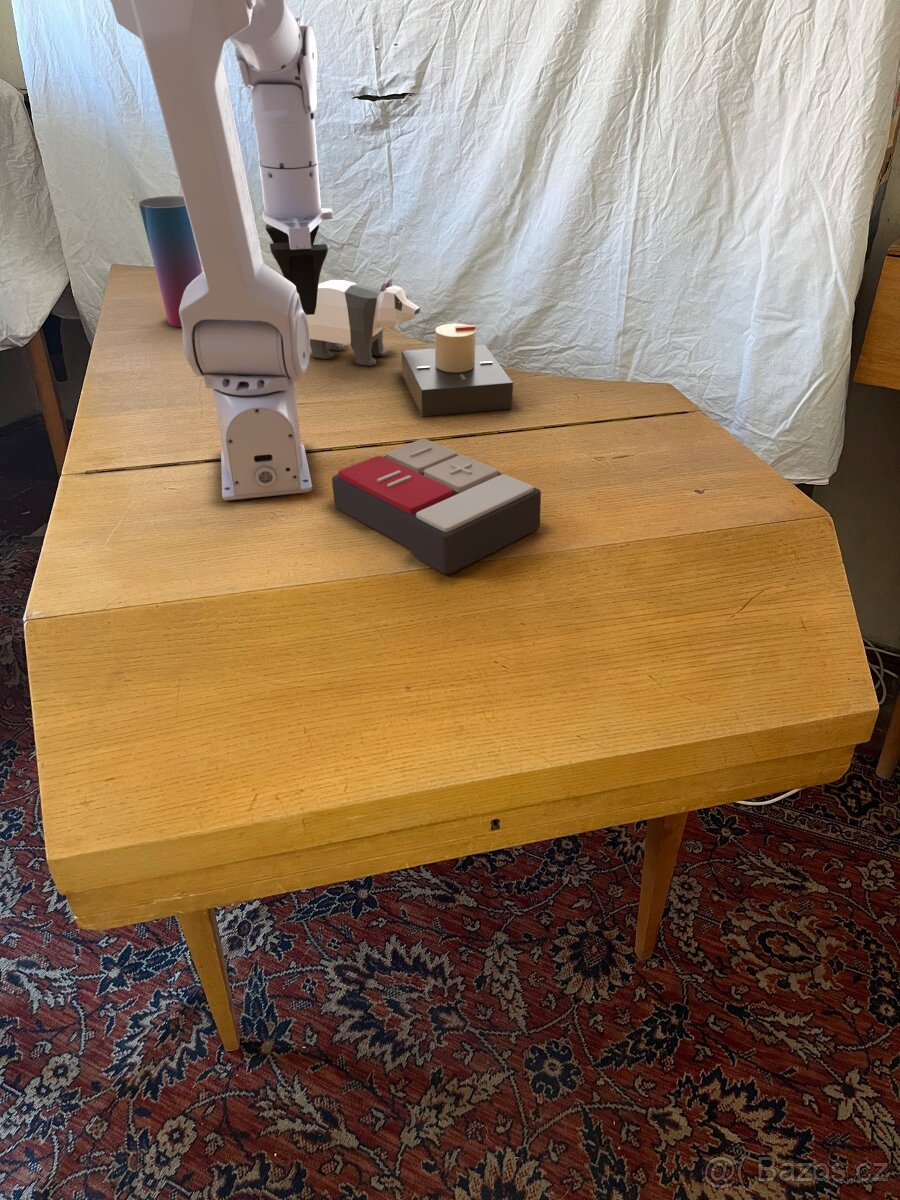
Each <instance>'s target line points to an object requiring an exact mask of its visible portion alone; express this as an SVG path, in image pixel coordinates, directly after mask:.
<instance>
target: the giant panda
mask: <svg viewBox="0 0 900 1200" xmlns="http://www.w3.org/2000/svg"><path fill="white" fill-rule="evenodd" d="M420 312H421V307H420V306H418V305H417V304H415V303H413V302H412V301H411V300H409V297H408V295H406V293H405V290H404V288H403V287H400V286H398V285H393V279H392V278H390V279H388V280H387V282H385V283H383V284H381V287H380V289H379V288H374V287H369V286H366V285H362V284H359V283H355V282H352V281H349V280H343V279H330V280H328V281H324V282H321V283H318V293H317V304H316V310H315V314H313V315H306V317H307V320H308V325H309V333H310V351H311V355H312V357H314V358H317V359H325V360H329V359H332V358H333V357H334V354H333V352H332V351H342V350H344V349H345V346H344V345H349V346H350V347H351V349H352V352H353V354H354V355H353V356H354V361H355V364H357V365H362V366H369V367H372V366H375V365H376V363H377V360H376V358H374V357H373V356H377V357H385V356H388V349H386V348H385V347H384V341H383V339H384V328H395V327H398V326H399V325H402V323H406V322H409V321H412V320H414V319H415V318H416V317H417V315H418V314H420ZM330 350H332V351H330Z"/></svg>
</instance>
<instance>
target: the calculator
mask: <svg viewBox="0 0 900 1200" xmlns="http://www.w3.org/2000/svg"><path fill="white" fill-rule="evenodd" d="M337 473H338V474H336V475H333V476H332V477H331V483H332V485H331V486H332V493H333V502H334V508H335V509H337V510H339V511H341V512H342V513H344V514H346V515H349V516H350V517H351V518H353V519H355V520H357V521H359V522H360V523H362V524H364V525H366V526H368V527H370V528H372V529H373V530H375V531H377V532H379V533H381V534H383V535H384V536H386V537H388V538H390V539H391V540H393V541H395V542H397V543H399V544H400V545H402V546H403V547H406V548H407V549H408V550H410V552H411V553H412V555H413V556H414V557H415V558H416V559H417V560H419V561H420V562H422V563H424V564H426V565H427V566H429V567H430V568H433V569H435V570H436V571H438V572H440V573H442V574H443V575H451V574H454V573H455V572H457V571H459V570H461V569H462V568H464V567H467V566H469V565H471V564H472V563H474V562H477V561H479V560H480V559H482V558H484V557H486V556H488V555H490V554H493V553H494V552H496V551H498V550H500V549H502V548H503V547H506V546H508V545H509V544H511V543H514V542H515V541H517V540H519V539H522V538H523V537H526V536H527V535H529V534H531V533H533V532H535V531H537V530H539V529H540V527H541V504H542V503H541V501H542V500H541V499H542V491H541V490H540V489H539V488H537V487H535V486H534V485H532V484H529V483H527V482H524V481H522V480H519V479H517V478H515V477H513V476H510V475H508V474H504V473H501V472H499V469H498V468H496V467H495V466H494V467H493V466H492V465H489V464H488V463H487V464H486V463H484V462H481V461H479V460H477V459H474V458H472V457H470V456H467V455H465V454H457V451H455V450H453V449H451V448H448V447H445V446H443V445H441V444H439V443H436V442H434V441H432V440H430V439H427V438H420V439H418V440H415V441H412V442H410V443H407V444H404V445H402V446H400V447H397V448H394V449H392V450H389V451H387V452H386V453H385V456H382V455H375V456H373V457H370V458H368V459H365V460H363V461H360V462H358V463H355V464H352V465H350V466H346V467H345V468H342V469H339V471H338V472H337Z"/></svg>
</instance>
